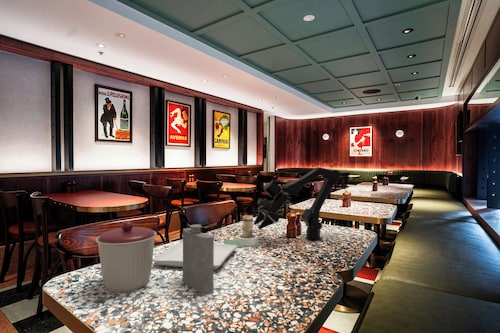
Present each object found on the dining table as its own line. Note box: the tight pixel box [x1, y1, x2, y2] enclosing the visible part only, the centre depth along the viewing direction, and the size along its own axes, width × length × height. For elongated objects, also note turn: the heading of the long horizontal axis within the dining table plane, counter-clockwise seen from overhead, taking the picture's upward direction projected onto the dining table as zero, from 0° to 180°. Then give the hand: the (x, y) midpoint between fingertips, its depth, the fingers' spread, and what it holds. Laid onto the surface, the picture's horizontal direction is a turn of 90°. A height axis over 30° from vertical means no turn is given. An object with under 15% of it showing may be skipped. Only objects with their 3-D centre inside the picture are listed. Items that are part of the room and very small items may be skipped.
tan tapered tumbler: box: [241, 214, 254, 239], centre depth 138 cm, size 5×5×13 cm
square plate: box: [152, 241, 238, 270], centre depth 115 cm, size 27×27×4 cm
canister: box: [94, 220, 157, 294], centre depth 90 cm, size 18×18×21 cm
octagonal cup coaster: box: [223, 233, 261, 249], centre depth 137 cm, size 18×15×4 cm
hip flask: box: [182, 224, 215, 295], centre depth 90 cm, size 16×4×20 cm, turn 42°
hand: (256, 226), depth 139 cm, fingers open, 9 cm apart
